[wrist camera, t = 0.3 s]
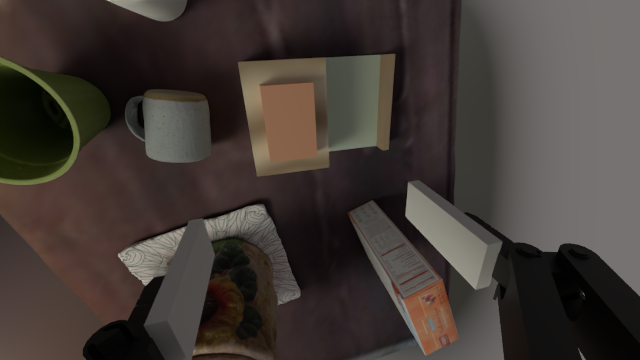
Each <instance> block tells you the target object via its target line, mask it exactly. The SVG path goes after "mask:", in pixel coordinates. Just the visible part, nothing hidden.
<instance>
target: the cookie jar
mask: <svg viewBox="0 0 640 360" xmlns="http://www.w3.org/2000/svg"><path fill="white" fill-rule="evenodd" d="M204 223H205V226H206V229H207V232H208V235H209V238H210V241H211V244H212V247H213V250H214V253H215V256H214V261H213V265H212V270H211V274H210V279H209V283H208V288H207V292H206V297H205V301H204V306H203V310H202V315H201V319H200V324H199V328H198V333H197V337H196V342H195V346H194V351H193V355H192V360H278V358H277V356H276V342H275V341H276V337H277V318H276V313H277V308H278V305H279V304H281V303H284V304H285V303H286V302H288V301H290V300H292V299H295V298H299V297H300V294H301V293H300V288H299V287H298V285H297V282H296V280H295V278H294V276H293V274H292V271H291V268H290V266H289V263H288V258H287V255H286V252H285V249H284V248H283V246H282V244H281V239H280V238H279V237H278V234H277V232H276V227H275V225H274V223H273V220H272V218H271V217H270V216H269V214H268V213H267V211H266V208H265V206H264V205H263V204H256V205H251V206H247V207H244V208H242V209H240V210H236V211H233V212H230V213H229V214H227V215H223V216H219V217H217V218H210V219H205V220H204ZM186 227H187V226H185V227H182V228H180V229H177V230H173V231H171V232H168V233H165V234H162V235H159V236H156V237H153V238H150V239H147V240H144V241H140V242H137V243H134V244H132V245H130V246H128V247H127V248H126V249H124V250H123V251H122V252H121V253H119V254H118V257H119V258H120V259H121V260H122V262H124V263H125V265H126V266H127V267H128V269H129V270H130V272H131V273H132V274H134V275H135V276H136V277H138V279H139V280H142V283H143V284H144V285H145V286H146V285H147V284H148V283H149V282H150V281H151V280H152V279H153V278H154V277H159V276H164V275H166V273H167V271H168V268H169V266H170V264H171V261H172V259H173V257H174V254H175V252H176V250H177V247H178V245H179V243H180V240H181V238H182V236H183V234H184V231H185V229H186Z"/></svg>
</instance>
